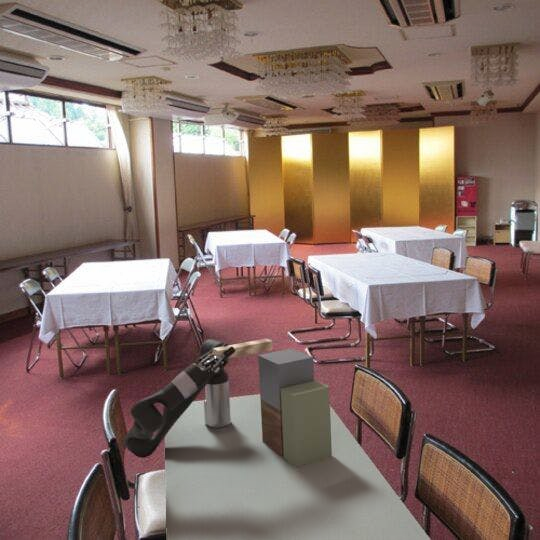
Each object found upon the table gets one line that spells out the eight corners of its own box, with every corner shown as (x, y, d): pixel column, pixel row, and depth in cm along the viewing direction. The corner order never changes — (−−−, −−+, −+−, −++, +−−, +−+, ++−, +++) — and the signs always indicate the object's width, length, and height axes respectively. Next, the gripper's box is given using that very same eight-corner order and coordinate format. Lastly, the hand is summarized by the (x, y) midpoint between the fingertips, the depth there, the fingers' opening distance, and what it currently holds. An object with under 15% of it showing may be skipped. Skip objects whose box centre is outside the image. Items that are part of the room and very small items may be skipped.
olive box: (296, 466, 184) (293, 395, 181) (283, 457, 191) (280, 388, 188) (331, 455, 191) (329, 386, 188) (318, 446, 198) (315, 380, 195)
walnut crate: (282, 456, 192) (280, 410, 190) (262, 441, 204) (260, 398, 202) (316, 445, 199) (315, 401, 197) (295, 432, 211) (294, 390, 209)
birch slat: (218, 360, 182) (217, 350, 182) (213, 357, 186) (212, 348, 185) (272, 349, 192) (272, 340, 191) (267, 347, 195) (266, 338, 195)
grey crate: (280, 410, 190) (278, 364, 188) (260, 398, 202) (258, 355, 200) (315, 401, 197) (313, 357, 195) (294, 390, 209) (292, 348, 207)
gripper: (187, 383, 188) (227, 350, 194) (204, 396, 175) (246, 360, 181) (175, 366, 185) (216, 334, 191) (191, 378, 173) (234, 342, 179)
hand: (230, 347), depth 186 cm, fingers closed on birch slat, 4 cm apart
